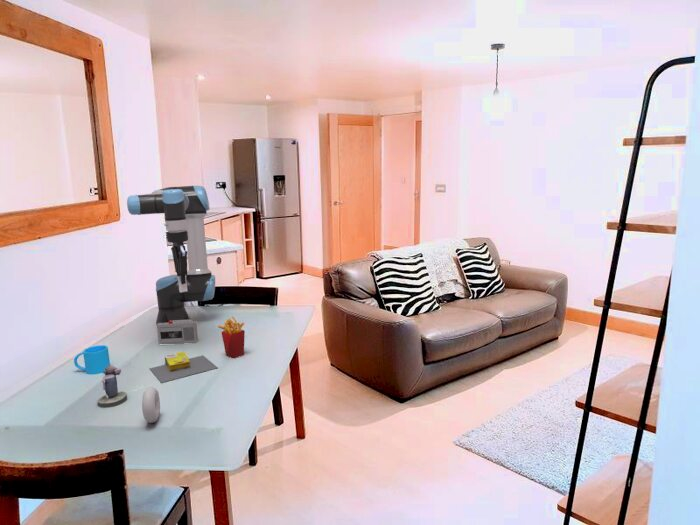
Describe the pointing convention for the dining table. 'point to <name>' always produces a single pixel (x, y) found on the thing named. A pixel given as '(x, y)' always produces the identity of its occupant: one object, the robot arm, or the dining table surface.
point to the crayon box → (177, 361)
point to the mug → (94, 359)
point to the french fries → (233, 338)
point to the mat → (183, 369)
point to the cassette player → (177, 332)
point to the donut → (151, 405)
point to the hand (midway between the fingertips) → (183, 291)
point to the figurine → (111, 389)
